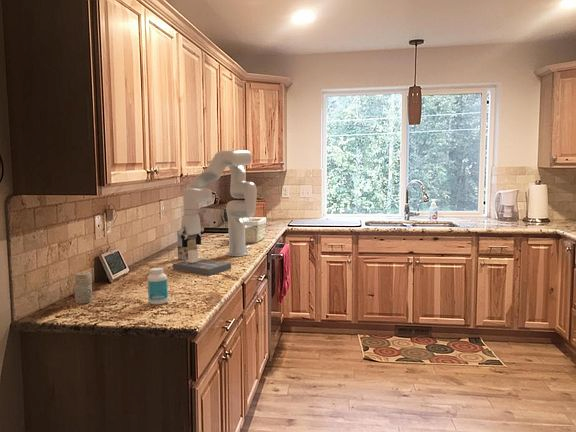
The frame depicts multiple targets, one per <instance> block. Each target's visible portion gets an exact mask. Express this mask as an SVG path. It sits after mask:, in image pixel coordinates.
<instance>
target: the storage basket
mask: <svg viewBox="0 0 576 432" xmlns="http://www.w3.org/2000/svg"><path fill="white" fill-rule="evenodd" d="M242 218H243V220H244V223H245V244H247V243H248V244H249V243H251V244H253V243H258V242H260V241H262V240H264V239H265V238H266V225H267V217H266V216H265V217H263V216H262V217H261V216H259V217H257V216H256V217H254V216H253V217H250V218H246V217H242Z"/></svg>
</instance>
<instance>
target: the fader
mask: <svg viewBox="0 0 576 432" xmlns="http://www.w3.org/2000/svg"><path fill="white" fill-rule="evenodd" d="M201 259H202V258H199V251H198V249H197V250H194V249H193V250H189V251H188V260H184V261H185V262H189V263H195V262H199V261H201Z"/></svg>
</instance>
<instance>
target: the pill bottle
mask: <svg viewBox="0 0 576 432" xmlns="http://www.w3.org/2000/svg"><path fill="white" fill-rule="evenodd" d="M146 279H147V295H148V296H147V297H148V303H149V304H150V305H155V306H156V305H159V306H160V305H163V304H166V303H168V301H169V292H168V290H169V289H168V276H167V274H165V273H164V268H163V267H152V268H150V274H149V275H148V276H147V278H146Z"/></svg>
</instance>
